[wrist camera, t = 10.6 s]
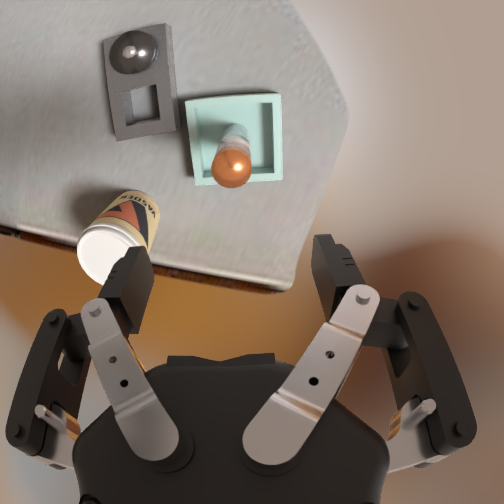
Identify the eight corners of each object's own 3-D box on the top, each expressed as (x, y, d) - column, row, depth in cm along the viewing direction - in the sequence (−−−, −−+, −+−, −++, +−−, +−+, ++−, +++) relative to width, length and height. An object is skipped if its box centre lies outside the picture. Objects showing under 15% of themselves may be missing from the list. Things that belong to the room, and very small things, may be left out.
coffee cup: (175, 202, 39) (154, 250, 29) (152, 247, 44) (131, 300, 34) (119, 174, 36) (81, 214, 26) (103, 223, 40) (70, 270, 31)
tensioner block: (113, 41, 24) (96, 39, 21) (171, 26, 24) (161, 20, 21) (125, 136, 33) (111, 145, 29) (180, 126, 33) (172, 134, 29)
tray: (189, 99, 31) (184, 101, 28) (277, 92, 31) (280, 94, 28) (198, 177, 37) (195, 185, 35) (279, 172, 37) (282, 180, 35)
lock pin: (221, 124, 32) (208, 152, 22) (248, 122, 32) (250, 148, 22) (223, 149, 34) (213, 189, 24) (249, 148, 34) (252, 186, 24)
